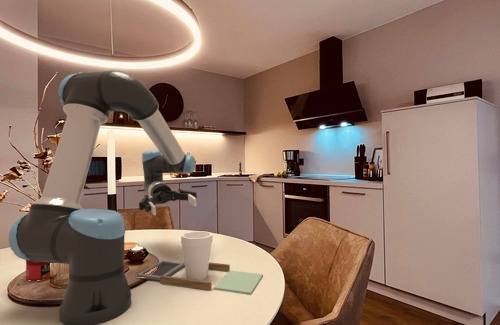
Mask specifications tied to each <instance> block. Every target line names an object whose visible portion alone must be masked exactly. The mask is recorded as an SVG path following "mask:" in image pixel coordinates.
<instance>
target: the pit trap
mask: <svg viewBox="0 0 500 325" xmlns="http://www.w3.org/2000/svg"><path fill="white" fill-rule="evenodd" d="M157 266H158V268H157V270H156V271H155V272H154V273H153V274H152V275H148V274H145V273H147V272H149V271H150V270H151V269H153V268H155V267H157ZM183 268H184V269H185V263H184V262H178V261H170V260H161V261H159V262H157V263H155V264H153V265H151V266H150V267H148V268H146V269H145V270H143V271H140V272H139V273H137V274H136V278H137V277H146V281H154V282H158V283H160V276H162V275H164V276H172V277H173V275H175V274H176V273H177V272H179V271H181V270H182V269H183Z"/></svg>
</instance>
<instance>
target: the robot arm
mask: <svg viewBox="0 0 500 325" xmlns="http://www.w3.org/2000/svg"><path fill="white" fill-rule="evenodd" d="M58 97H59V98H60V99H59V101H60V104H61V105H62V110H63V112H64V114H65V115H66V118H65V122H64V125H63V128H62V132H61V134H60V137H59V140H58V144H57V147H56V149H55V153H54V156H53V158H52V159H53V160H52V162H51V166H50V168H49V171H48V174H47V178H46V181H45V184H44V188H43V191H42V193H41V197H40V198H39V199H37V200H35V201H34V202H31V205H30V207H29V211H28V213H26V214H24V215H23V214H22V215H21V216H20V218H17V219H16V220H15V221H14V222H13V224H12V225H11V227H10V229H9V233H8V245H9V247H10V248H9V249H10V250H11V251H12V252H13V254H14V255H15V256H17V257H18V258H19V259H21V260H24V261H26V260H30V261H32V262H50V263H57V264H66V265H68V283H67V286H66V290H65V292H64V297H63V300H62V301H61V302H60V305H59V313H58V315H59V321H60V322H61V323H62V324H65V325H96V324H100V323H104V322H106V321H109V320H112V319H114V318H116V317H118V316H120V315H121V314H123V313H125V312H126V311H127V310H128V309H129V308H130V307H131V304H132V303H133V302H132V298H133V297H132V290H131V288H130V286H129V283H128V280H127V277H126V274H125V235H126V228H125V218H124V216H123V215H122V213H120V212H118V211H117V210H112V209H106V208H105V209H104V208H84V207H83V206H82V205H81V204H80V202H81V199H82V195H83V192H84V187H85V184H86V180H87V176H88V173H89V168H90V166H91V162H92V159H93V158H92V157H93V154H94V149H95V146H96V143H97V139H98V136H99V132H100V128H101V126H102V125H105V124H106V123H107V122H108V120H109V117H110V113H112V112H123V113H126V114H127V115H128V116H129V118H130V119H132V120H133V121H136V122H138V123H139V125H140V127H141V128H142V129H143V131H144V132H145V134H146V135H147V136H148V138H149V139H150V140H151V142H152V143H153V145H155V147H156V148H157V149H152V150H150V149H149V150H144V151H143V152H141V163H142V170H143V180H144V182H143V190H144V191H145V193H146V194H144V197H143V198H142V199H141V200H140V201H139V202H138V208H139V211H143V210H145V212H146V213H149V212H151V214H152V215H153V216H156V215H157V208H156V205H160V204H161V205H163V204H166V203H168V202H171V201H172V202H175V201H188V203H189V204H191V205H192V206H193V207H197V199H198V197H197V196H198V195H197V191H190V190H183V189H179V188H178V189H177V191H176V190H172V189H171V187H170V186H169V185H167V184H166V183H165V182H164V175H163V174H192V173H193V172H194V171H195V169H196V164H197V163H196V162H197V161H196V159H195V156H194V155H191V154H186V153H185V151H184V150H183V148H182V147H181V145H180V144H179V142H178V140H177V139H176V137H175V135H174V133H173V132H172V130H171V129H170V127H169V125H168V124H167V121H166V120H165V118H164V116H163V115H162V113H161V112H160V111H159V102H158V100H157V98H156V97H155V96H154V94H153V93H152V92H151V91H150V89H149V88H148V87H147V86H146V85H145V84H144V83H142V82H141V81H140V80H139V79H137V78H136V77H134V76H133V75H131V74H129V73H127V72H124V71H122V70H105V71H93V72H84V71H83V72H82V71H81V72H77V73H74V74H73V73H72V74H69V75H67V76H65V77H64V78H63V79H62V80H61V82H60V84H59V87H58ZM77 106H78V107H77ZM116 211H117V212H116Z"/></svg>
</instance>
